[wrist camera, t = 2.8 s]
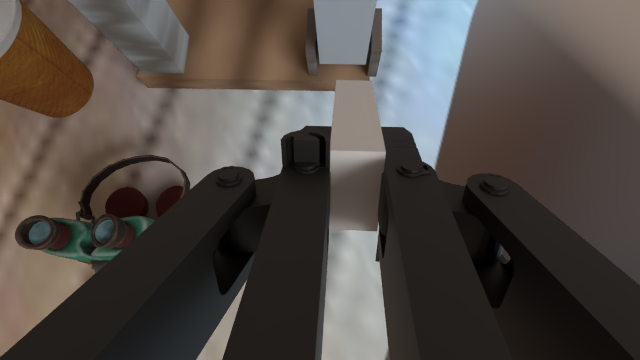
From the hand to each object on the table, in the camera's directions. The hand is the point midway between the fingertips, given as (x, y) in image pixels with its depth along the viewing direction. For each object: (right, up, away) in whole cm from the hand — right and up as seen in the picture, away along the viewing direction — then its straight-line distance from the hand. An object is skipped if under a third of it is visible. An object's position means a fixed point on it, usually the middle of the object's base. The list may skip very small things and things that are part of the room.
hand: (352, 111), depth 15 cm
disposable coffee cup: (-28, +6, +20) cm, 35 cm away
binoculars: (-17, -7, +17) cm, 25 cm away
